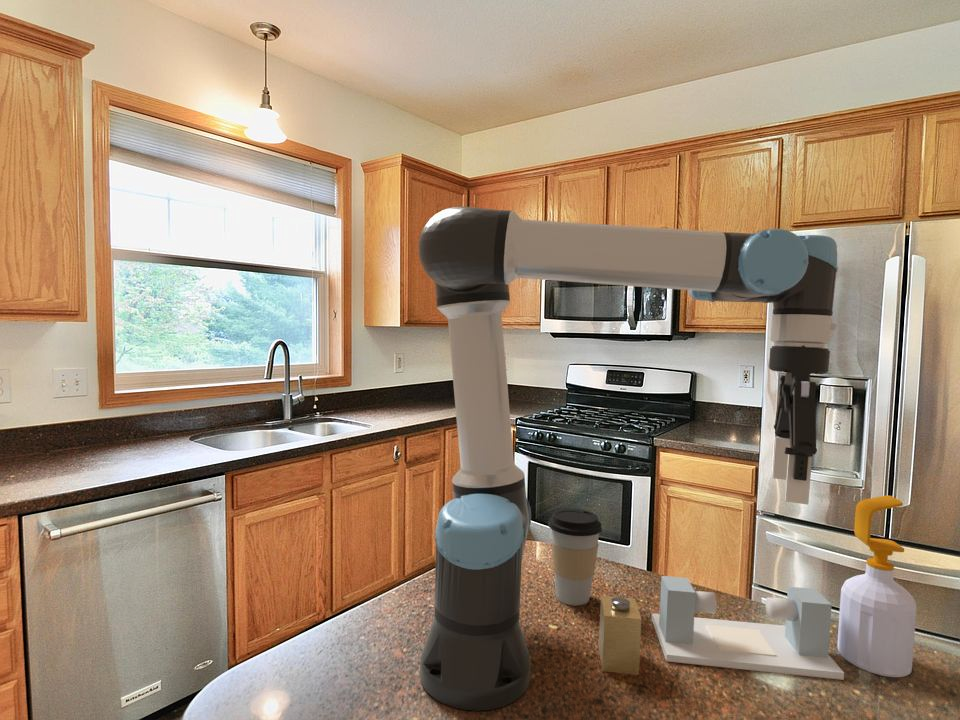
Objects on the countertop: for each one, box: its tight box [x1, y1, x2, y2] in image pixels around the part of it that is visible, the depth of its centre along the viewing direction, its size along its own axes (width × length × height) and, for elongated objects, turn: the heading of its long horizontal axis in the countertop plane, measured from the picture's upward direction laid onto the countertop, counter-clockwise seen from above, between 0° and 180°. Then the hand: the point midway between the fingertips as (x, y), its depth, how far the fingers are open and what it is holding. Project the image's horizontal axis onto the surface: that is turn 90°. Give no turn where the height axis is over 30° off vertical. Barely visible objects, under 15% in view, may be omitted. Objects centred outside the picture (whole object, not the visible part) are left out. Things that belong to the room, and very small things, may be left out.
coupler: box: [598, 595, 642, 676], centre depth 80 cm, size 5×6×9 cm
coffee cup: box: [547, 507, 603, 607], centre depth 99 cm, size 9×9×15 cm
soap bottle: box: [836, 495, 918, 678], centre depth 82 cm, size 9×9×25 cm
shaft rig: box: [651, 575, 845, 681], centre depth 85 cm, size 24×12×9 cm, turn 82°
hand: (788, 490), depth 81 cm, fingers open, 13 cm apart
